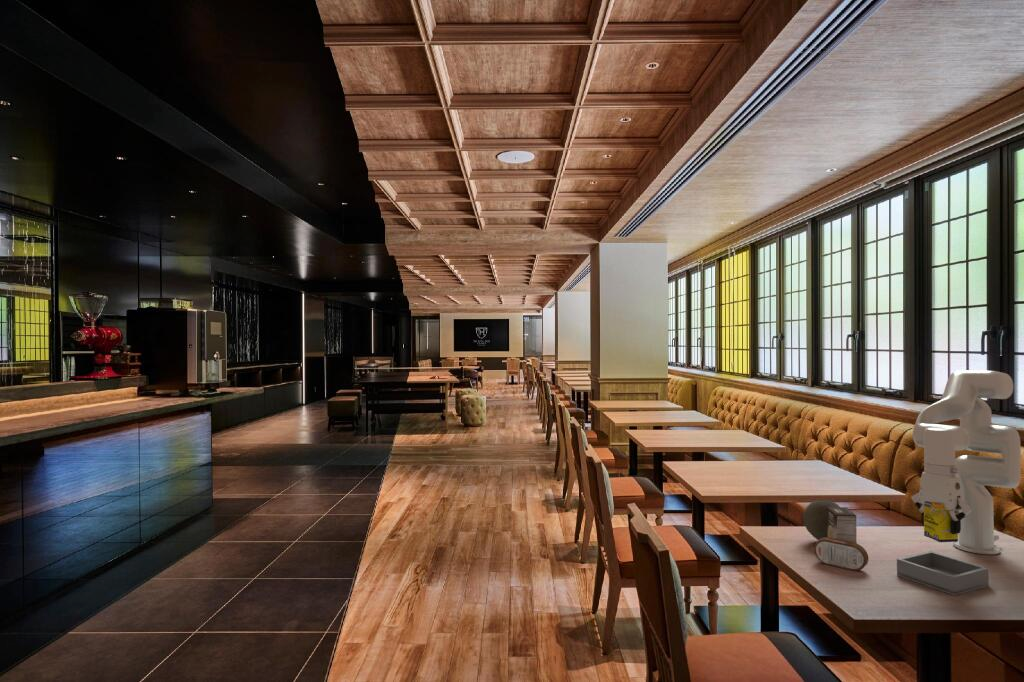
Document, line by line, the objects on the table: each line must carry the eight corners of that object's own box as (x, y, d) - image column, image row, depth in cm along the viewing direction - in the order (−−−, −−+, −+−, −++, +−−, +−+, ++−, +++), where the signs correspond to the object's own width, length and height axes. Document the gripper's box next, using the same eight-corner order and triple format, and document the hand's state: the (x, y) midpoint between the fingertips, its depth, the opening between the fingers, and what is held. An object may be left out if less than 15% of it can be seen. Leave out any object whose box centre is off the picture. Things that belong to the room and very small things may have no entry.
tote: (930, 567, 185) (930, 551, 185) (988, 585, 170) (988, 568, 170) (897, 575, 178) (896, 558, 179) (954, 595, 164) (954, 577, 164)
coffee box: (826, 554, 197) (826, 506, 197) (847, 555, 196) (847, 507, 196) (836, 564, 188) (835, 513, 188) (858, 565, 187) (857, 514, 187)
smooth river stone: (822, 535, 217) (821, 494, 217) (858, 546, 204) (858, 503, 204) (795, 540, 211) (794, 498, 211) (830, 553, 198) (829, 508, 198)
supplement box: (923, 536, 177) (922, 499, 177) (942, 535, 178) (941, 499, 178) (939, 542, 171) (938, 504, 171) (958, 541, 172) (957, 504, 172)
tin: (868, 571, 182) (868, 544, 182) (866, 574, 180) (866, 546, 180) (816, 560, 192) (815, 534, 192) (813, 562, 190) (812, 536, 190)
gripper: (980, 474, 168) (981, 536, 168) (917, 463, 184) (918, 520, 184) (964, 476, 165) (965, 540, 165) (902, 465, 181) (902, 523, 181)
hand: (940, 529), depth 174 cm, fingers closed on supplement box, 7 cm apart
